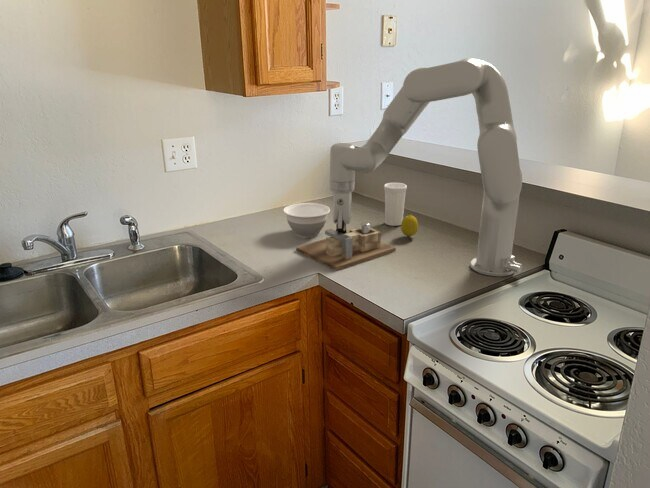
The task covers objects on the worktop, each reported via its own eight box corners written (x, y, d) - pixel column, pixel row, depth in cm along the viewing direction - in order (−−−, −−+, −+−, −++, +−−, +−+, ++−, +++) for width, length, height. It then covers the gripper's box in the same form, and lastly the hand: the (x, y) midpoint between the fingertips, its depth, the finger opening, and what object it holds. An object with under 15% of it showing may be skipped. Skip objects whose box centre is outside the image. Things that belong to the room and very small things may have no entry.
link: (367, 240, 173) (367, 226, 172) (380, 247, 168) (380, 232, 166) (322, 251, 165) (322, 236, 163) (334, 258, 160) (335, 242, 158)
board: (395, 251, 168) (395, 247, 168) (336, 270, 154) (336, 266, 154) (353, 234, 183) (353, 230, 182) (296, 250, 169) (296, 247, 168)
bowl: (278, 228, 189) (277, 205, 186) (321, 223, 194) (321, 200, 190) (291, 243, 175) (290, 218, 172) (336, 238, 179) (337, 213, 176)
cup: (402, 220, 197) (404, 182, 191) (407, 227, 189) (409, 188, 184) (380, 220, 196) (382, 182, 191) (384, 227, 189) (385, 188, 184)
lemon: (416, 234, 182) (418, 212, 179) (417, 240, 177) (419, 217, 174) (400, 234, 183) (401, 211, 180) (400, 240, 177) (402, 217, 174)
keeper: (352, 258, 160) (352, 237, 157) (346, 260, 158) (346, 239, 156) (331, 248, 167) (331, 228, 165) (325, 250, 166) (325, 230, 163)
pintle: (371, 244, 170) (372, 223, 168) (365, 246, 168) (365, 225, 166) (365, 242, 172) (366, 221, 170) (359, 244, 170) (359, 223, 168)
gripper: (352, 192, 154) (351, 251, 161) (356, 179, 168) (354, 234, 175) (327, 191, 155) (326, 249, 162) (332, 178, 169) (331, 232, 176)
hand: (340, 241), depth 168 cm, fingers closed
